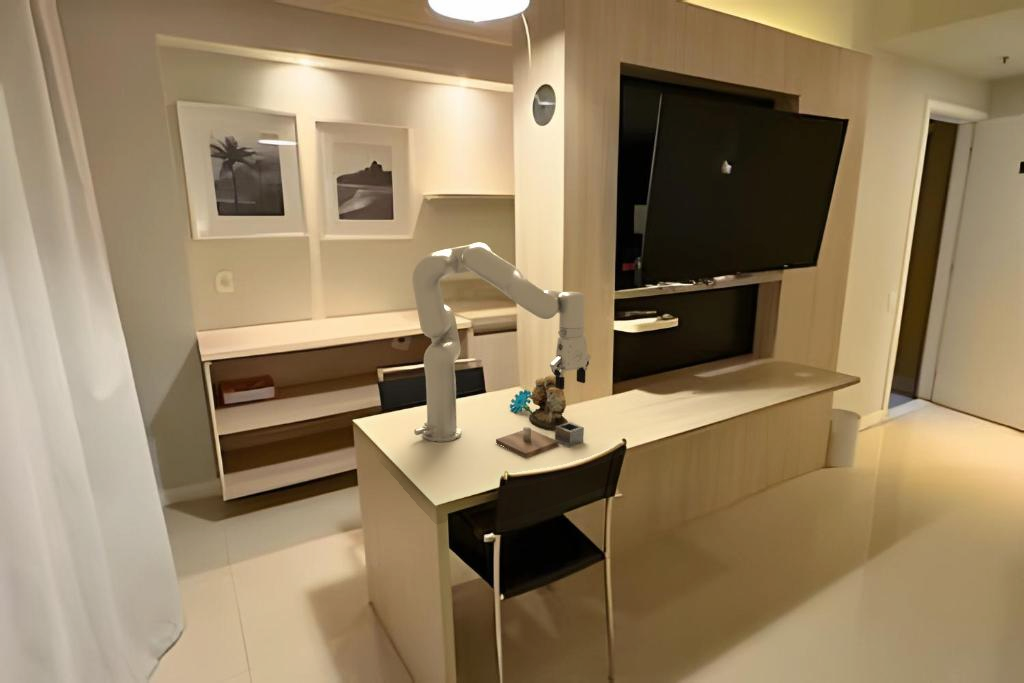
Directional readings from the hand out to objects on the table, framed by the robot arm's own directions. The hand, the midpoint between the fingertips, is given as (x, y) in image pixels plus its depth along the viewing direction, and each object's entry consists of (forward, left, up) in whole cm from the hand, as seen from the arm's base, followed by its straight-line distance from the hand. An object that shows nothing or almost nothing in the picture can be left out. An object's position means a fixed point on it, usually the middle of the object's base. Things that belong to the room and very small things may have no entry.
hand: (570, 385), depth 174 cm
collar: (0, 0, -19) cm, 19 cm away
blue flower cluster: (+7, +31, -19) cm, 37 cm away
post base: (-12, +7, -19) cm, 23 cm away
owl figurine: (+7, +17, -19) cm, 26 cm away
